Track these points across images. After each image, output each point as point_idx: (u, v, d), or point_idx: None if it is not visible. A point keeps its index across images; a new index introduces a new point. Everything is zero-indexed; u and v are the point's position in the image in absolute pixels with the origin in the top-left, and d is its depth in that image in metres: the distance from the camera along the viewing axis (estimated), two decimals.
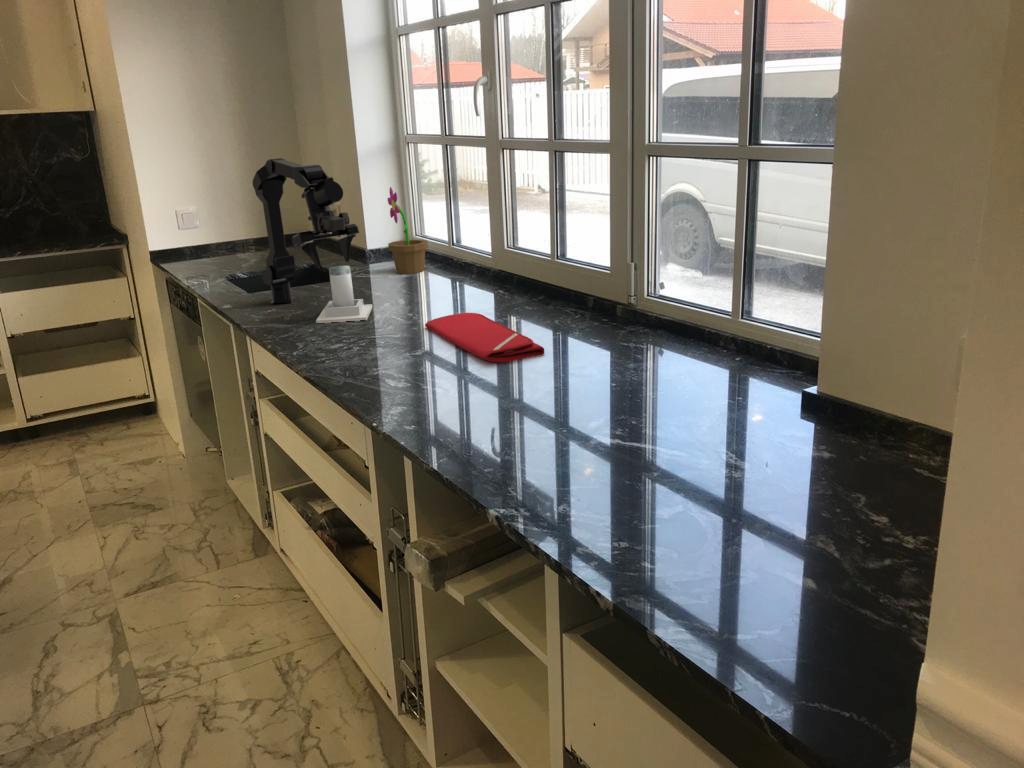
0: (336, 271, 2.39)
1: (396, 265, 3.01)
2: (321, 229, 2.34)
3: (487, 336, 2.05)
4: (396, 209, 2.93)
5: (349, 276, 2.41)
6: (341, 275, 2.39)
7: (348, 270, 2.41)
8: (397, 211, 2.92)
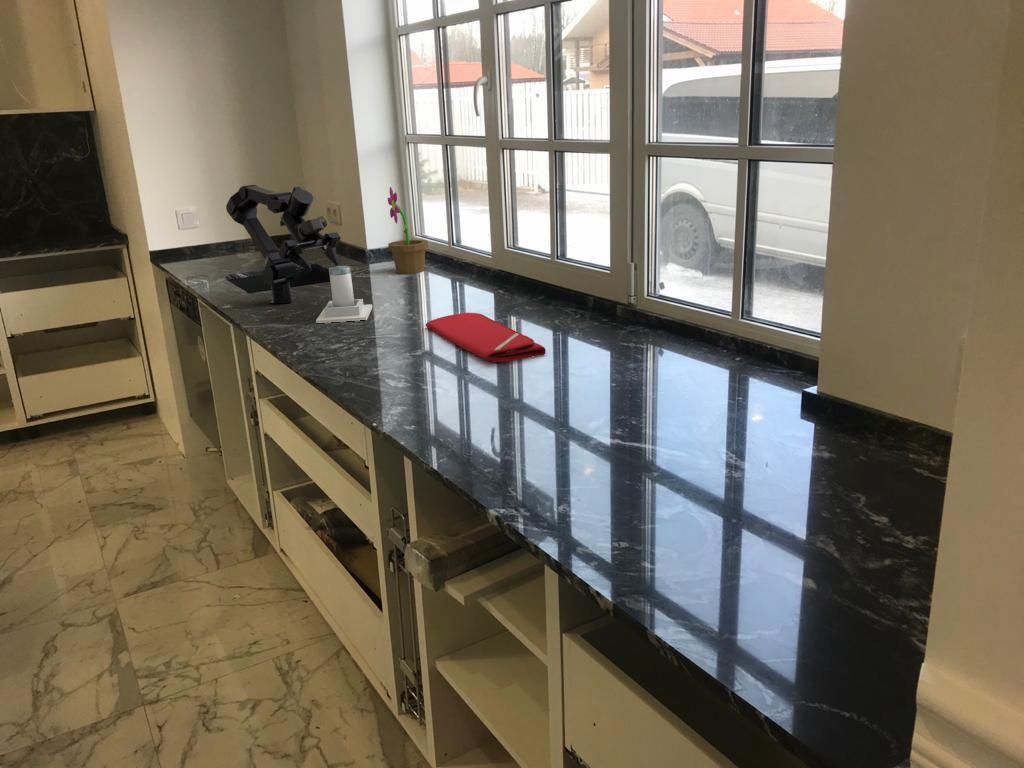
0: (336, 271, 2.39)
1: (396, 265, 3.01)
2: (303, 236, 2.45)
3: (488, 336, 2.05)
4: (396, 209, 2.93)
5: (349, 276, 2.41)
6: (341, 275, 2.39)
7: (348, 270, 2.41)
8: (397, 211, 2.92)
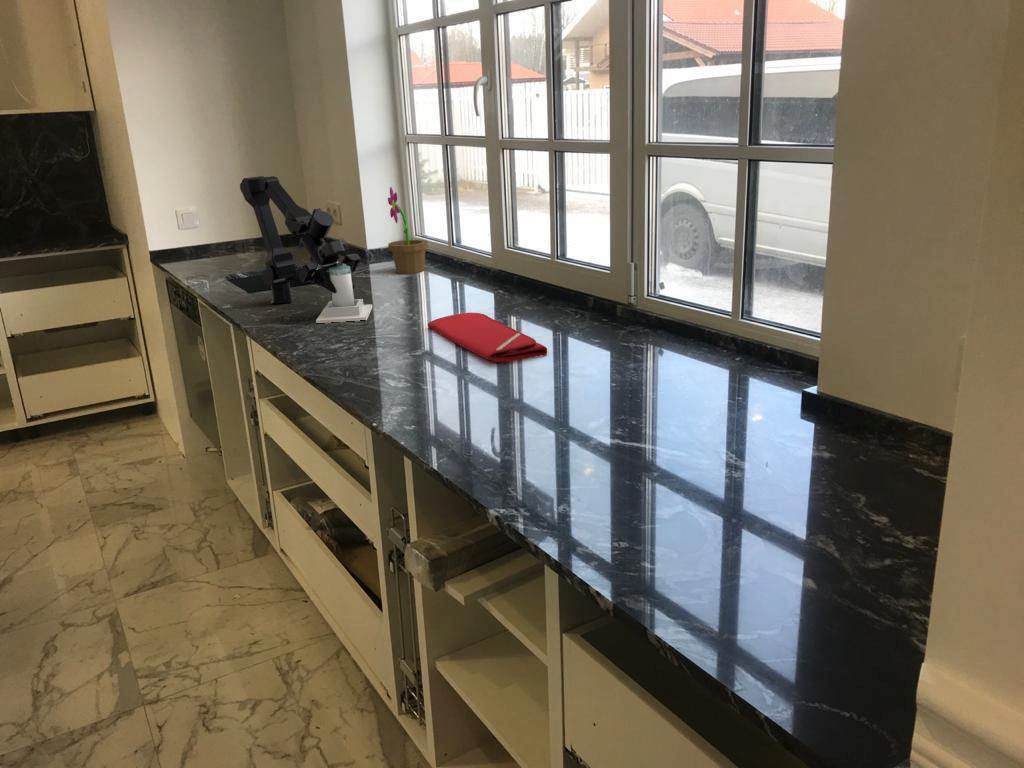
0: (336, 271, 2.39)
1: (396, 265, 3.01)
2: (323, 258, 2.41)
3: (490, 336, 2.05)
4: (396, 209, 2.93)
5: (349, 276, 2.41)
6: (341, 275, 2.39)
7: (348, 270, 2.41)
8: (397, 211, 2.92)
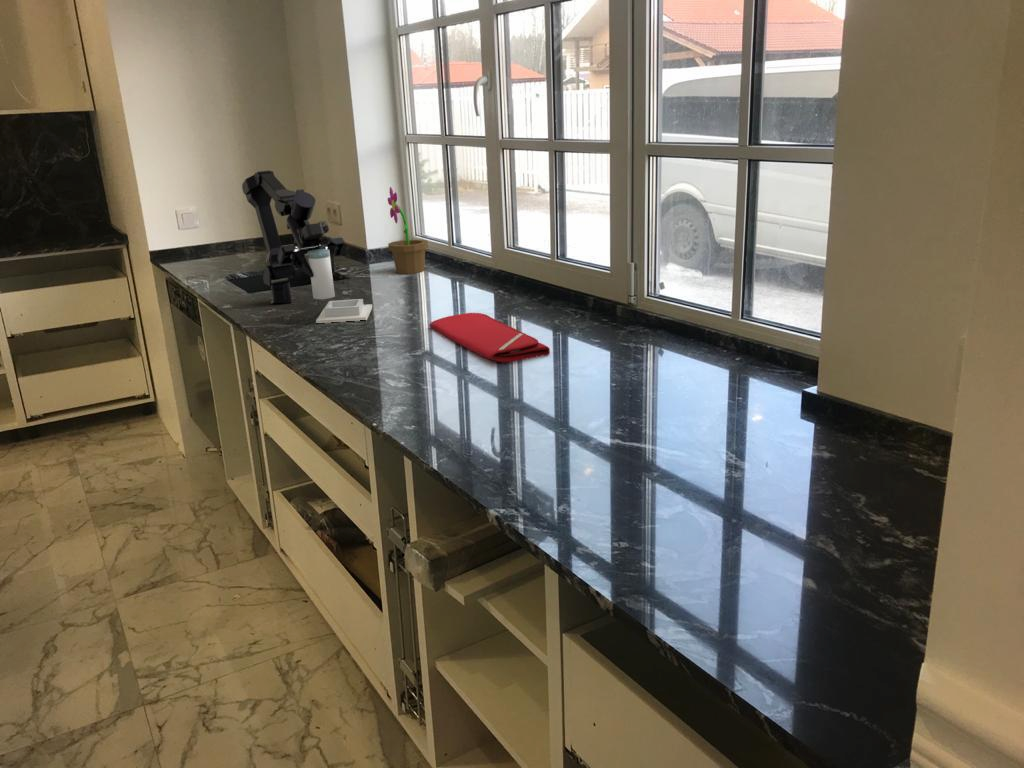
0: (313, 254, 2.33)
1: (396, 265, 3.01)
2: (303, 241, 2.36)
3: (492, 336, 2.05)
4: (396, 209, 2.93)
5: (327, 260, 2.35)
6: (317, 258, 2.33)
7: (326, 254, 2.34)
8: (397, 211, 2.92)
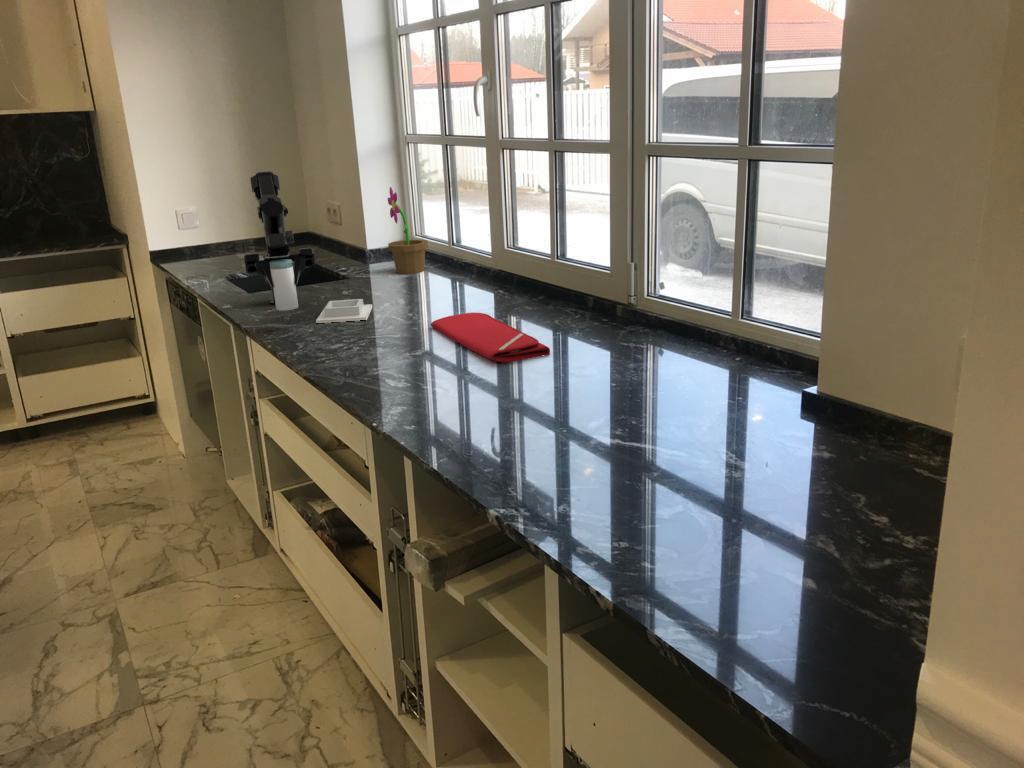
0: (272, 265, 2.29)
1: (396, 265, 3.01)
2: (268, 250, 2.32)
3: (493, 336, 2.05)
4: (396, 209, 2.93)
5: (287, 271, 2.30)
6: (276, 269, 2.29)
7: (285, 265, 2.29)
8: (397, 211, 2.92)
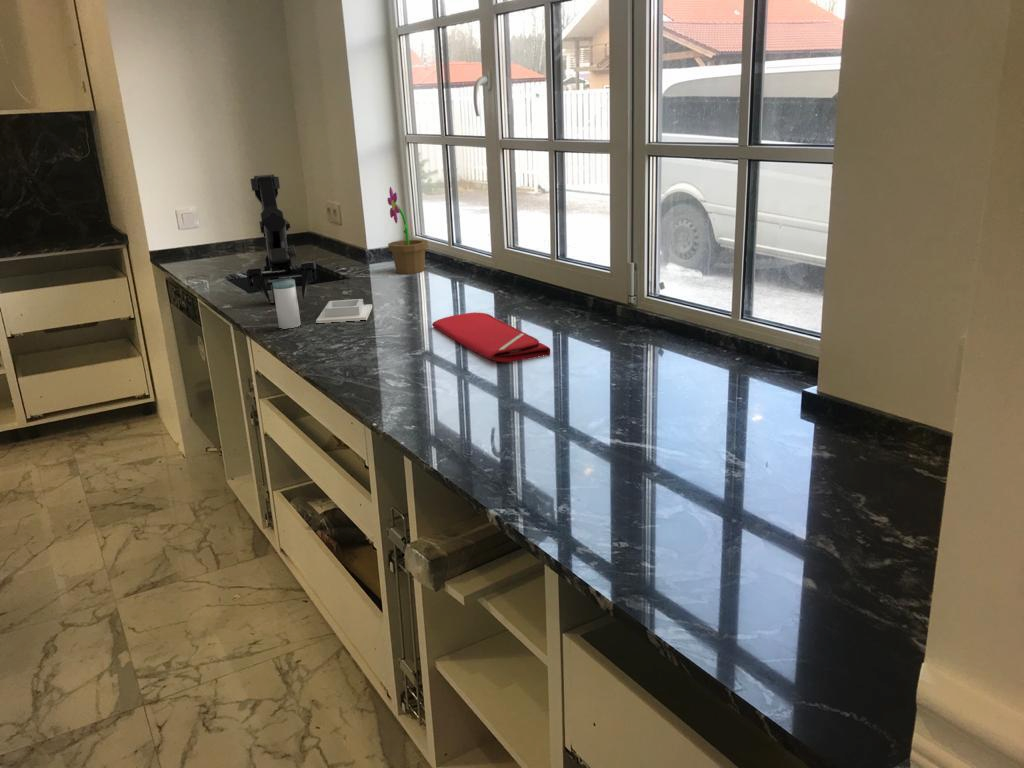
0: (275, 284, 2.31)
1: (396, 265, 3.01)
2: (270, 264, 2.34)
3: (493, 336, 2.05)
4: (396, 209, 2.93)
5: (290, 291, 2.31)
6: (279, 289, 2.30)
7: (288, 285, 2.31)
8: (397, 211, 2.92)
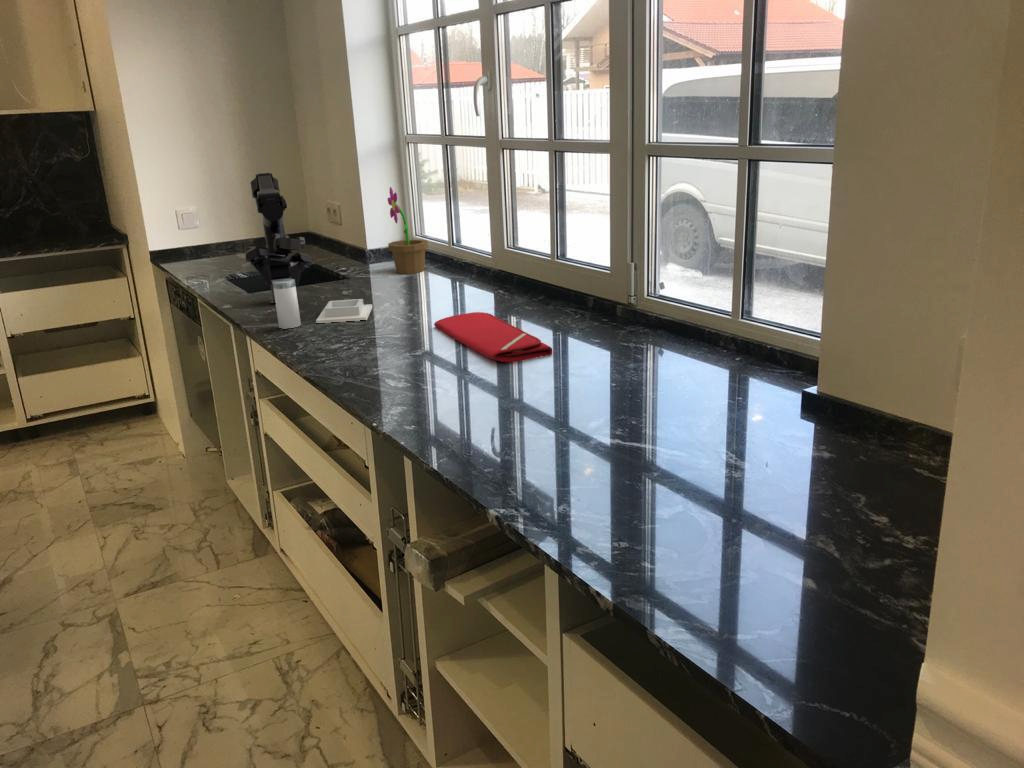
0: (275, 284, 2.31)
1: (396, 265, 3.01)
2: (276, 248, 2.39)
3: (495, 336, 2.05)
4: (396, 209, 2.93)
5: (290, 291, 2.31)
6: (279, 289, 2.30)
7: (288, 284, 2.31)
8: (397, 211, 2.92)
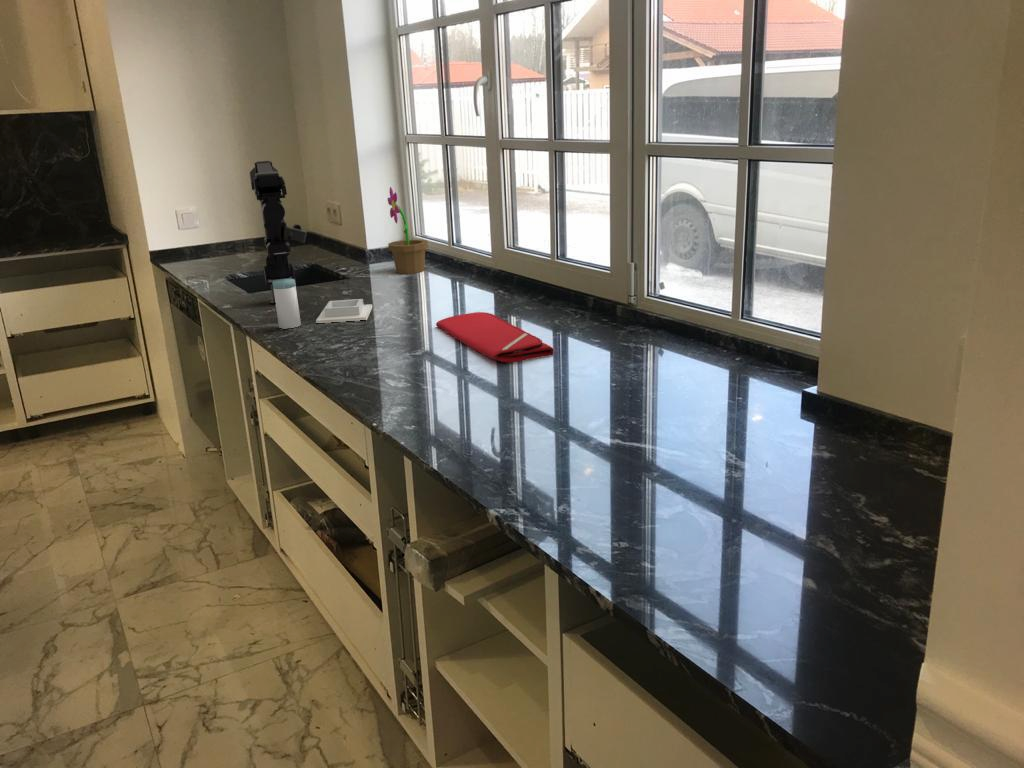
0: (275, 284, 2.31)
1: (396, 265, 3.01)
2: (288, 239, 2.38)
3: (497, 336, 2.05)
4: (396, 209, 2.93)
5: (290, 291, 2.31)
6: (279, 289, 2.30)
7: (288, 285, 2.31)
8: (397, 211, 2.92)
